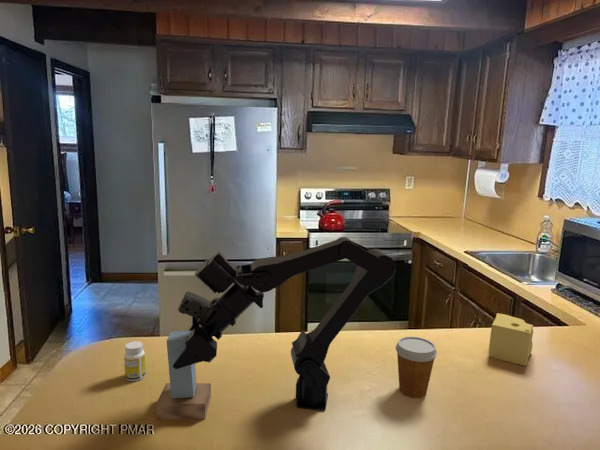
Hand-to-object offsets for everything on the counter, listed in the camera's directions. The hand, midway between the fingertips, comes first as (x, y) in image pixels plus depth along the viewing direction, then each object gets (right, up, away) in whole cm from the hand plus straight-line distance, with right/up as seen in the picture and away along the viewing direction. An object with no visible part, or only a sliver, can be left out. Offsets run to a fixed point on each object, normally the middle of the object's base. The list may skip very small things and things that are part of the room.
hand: (177, 356), depth 95 cm
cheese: (+85, -9, +32) cm, 92 cm away
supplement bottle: (-14, -9, +15) cm, 22 cm away
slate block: (+1, -8, +2) cm, 8 cm away
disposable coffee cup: (+53, -12, +12) cm, 56 cm away
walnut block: (+1, -12, +3) cm, 13 cm away
